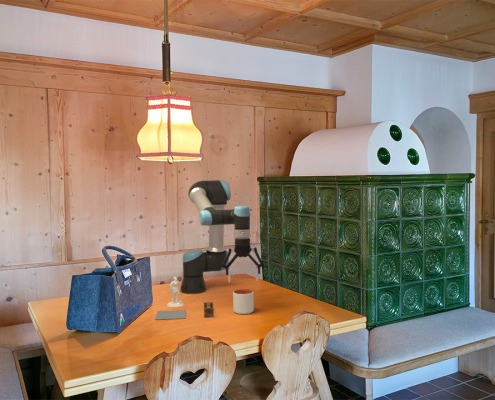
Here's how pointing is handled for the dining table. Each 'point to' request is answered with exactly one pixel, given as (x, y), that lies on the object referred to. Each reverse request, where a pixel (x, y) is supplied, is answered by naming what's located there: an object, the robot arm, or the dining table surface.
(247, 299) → the cup
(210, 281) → the dining table surface
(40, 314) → the dining table surface
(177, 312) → the pad
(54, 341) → the dining table surface
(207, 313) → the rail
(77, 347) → the dining table surface
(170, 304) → the figurine
